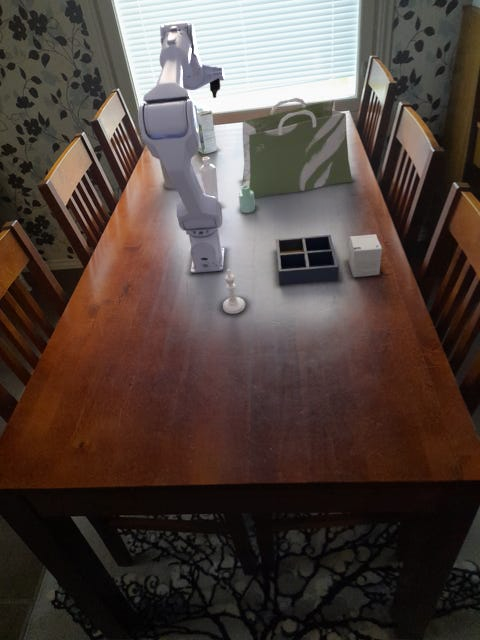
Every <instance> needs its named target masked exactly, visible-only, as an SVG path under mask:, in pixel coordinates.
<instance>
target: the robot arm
mask: <svg viewBox="0 0 480 640" xmlns="http://www.w3.org/2000/svg"><path fill="white" fill-rule="evenodd" d="M195 31H196V30H195V27H194V24H193V22H190V23H189V21H188V20H181V21H173V22H165V23H164V24H160V26H159V32H160V44H161V50H160V54H159V65H160V67H161V71H160V75H159V77H158V80H157V82H156V84H155V86H154V87H153V88H151V89H150V90H149V91H148V92H146V93H145V94H144V95H143V102H144V103H142V102H141V104H140V105H139V108H138V111H137V120H138V127H139V131H140V135H141V138H142V141H143V142H144V144H145V146H146V148H147V150H148V152H149V153H150V154H151V156H152V157H153V158H155V159H157V160H158V161H159V160H161V161H162V163H163V165H164V167H165V169H166V171H167V173H168V174H169V176H170V178H171V180H172V182H173V184H174V186H175V188H176V189H175V190H176V192H177V195H178V196H179V198H180V199H178V200H177V201H176V202H177V203H176V219H177V221H178V225H179V228H180V229H181V230H182V231H184V232H185V233H186V235H188V238H189V243H190V256H191V267H190V273H192V274H196V273H197V274H198V273H207V272H209V273H210V272H221V271H224V264H225V263H224V262H225V248H224V247H222V246H221V240H220V233H219V229H220V228H221V227H222V225H223V210H222V205H221V204H222V203H221V202H220V201H219V200H218V201H217V200H216V198H215V197H212V196H208V195H206V194H205V193H204V191H203V189H202V185H201V184H200V181H199V179H198V177H197V174H196V172H195V169H194V166H193V164H192V159H193V157H195V156H196V155H198V153H200V151H199V146H200V141H199V120H198V113H197V108H198V107H197V105H196V102H195V101H194V100H193V99H192V96H191V94H190V92H189V91H196V90H199V89H200V88H203V87H204V86H207V85H208V84H209V91H210V92H211V93H212V97H213V99H216V98H217V94H218V92H219V91H220V90H221V81H225V72H224V68H223V67H217V66H210V65H206V64H202V62H201V59H200V55H199V52H198V44H197V39H196V32H195Z"/></svg>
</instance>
